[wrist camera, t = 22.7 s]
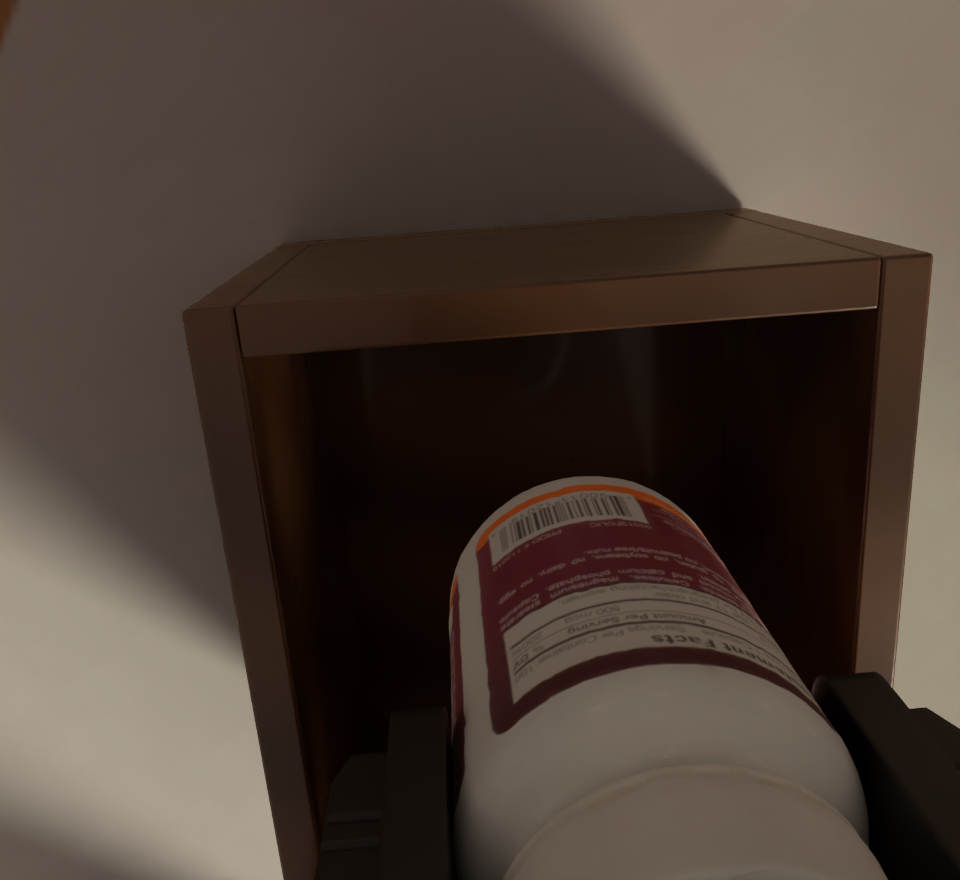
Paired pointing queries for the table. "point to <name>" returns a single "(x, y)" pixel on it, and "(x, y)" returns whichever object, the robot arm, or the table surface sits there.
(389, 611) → the chest
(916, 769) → the robot arm
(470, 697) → the pill bottle
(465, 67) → the table surface
